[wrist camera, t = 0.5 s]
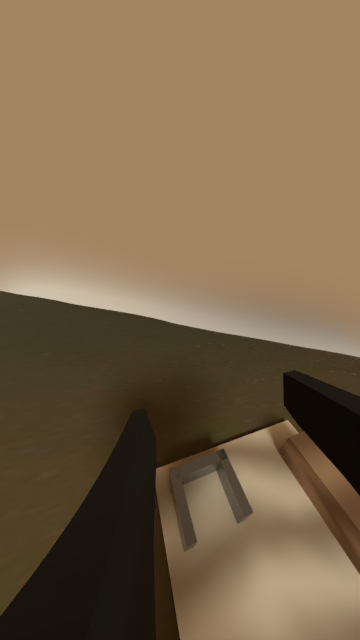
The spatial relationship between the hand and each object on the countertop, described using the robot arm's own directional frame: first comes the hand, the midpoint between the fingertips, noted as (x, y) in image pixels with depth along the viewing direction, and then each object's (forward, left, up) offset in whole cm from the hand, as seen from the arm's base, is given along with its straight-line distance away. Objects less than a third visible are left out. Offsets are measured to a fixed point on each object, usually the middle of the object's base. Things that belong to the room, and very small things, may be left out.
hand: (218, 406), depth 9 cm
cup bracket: (0, -2, -19) cm, 19 cm away
